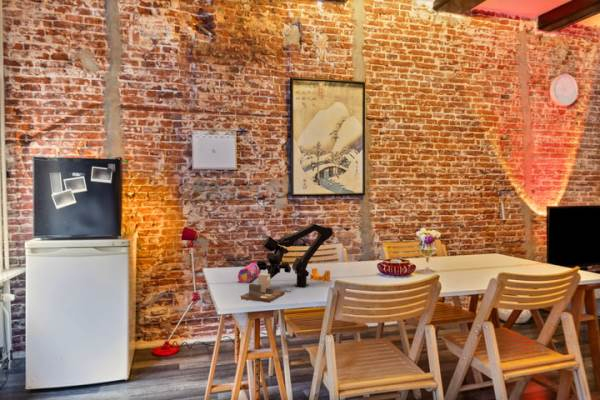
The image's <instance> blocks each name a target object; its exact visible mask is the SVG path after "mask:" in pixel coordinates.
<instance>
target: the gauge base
mask: <svg viewBox="0 0 600 400" xmlns="http://www.w3.org/2000/svg"><path fill="white" fill-rule="evenodd" d="M284 295H285V291H283V290H274V293H272V294H268V293H264V292H261V285H260V284H258V283H249V284H248V292H247V293H245V294H242V295H240V299H241V300H247V301H255V302H260V303H261V302H262V303H271V302H273V301H275V300H276V299H278V298H280V297H282V296H284Z"/></svg>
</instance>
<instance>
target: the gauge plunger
mask: <svg viewBox="0 0 600 400" xmlns="http://www.w3.org/2000/svg"><path fill="white" fill-rule="evenodd" d="M271 279H272V278H271ZM271 279H270V274H268V273H263V272H262V273H261V272H260V274H258V276H257V284H260V285H261V292H264V293H266V288H269V285H270V286H271ZM272 289H273V288H272ZM273 293H274V289H273Z"/></svg>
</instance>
